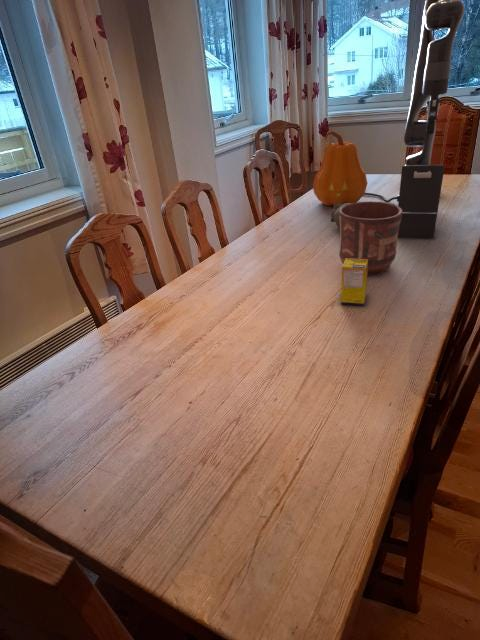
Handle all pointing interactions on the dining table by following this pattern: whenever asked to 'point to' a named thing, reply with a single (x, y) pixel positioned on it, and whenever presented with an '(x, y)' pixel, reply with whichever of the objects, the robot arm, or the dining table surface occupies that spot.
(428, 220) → the black cube
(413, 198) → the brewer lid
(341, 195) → the decorative pumpkin
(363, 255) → the pottery
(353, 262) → the supplement box
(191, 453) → the dining table surface
